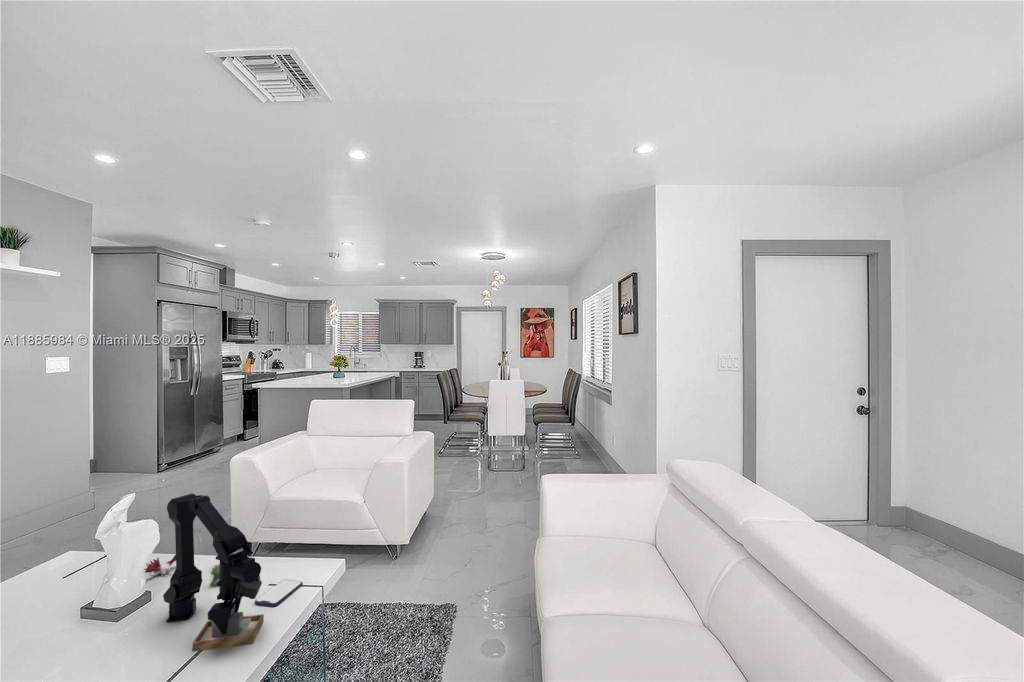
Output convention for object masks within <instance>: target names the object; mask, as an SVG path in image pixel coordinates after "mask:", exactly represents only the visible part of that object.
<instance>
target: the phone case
mask: <svg viewBox="0 0 1024 682" xmlns="http://www.w3.org/2000/svg"><path fill="white" fill-rule="evenodd" d="M301 587H303V581H301V580H291V579H282V580H280V581H279V582H278V583H277V584H275V585H274V586H273V587H271V588H270V589H268V590H267V591H266V592H264V593H263V594H261V595H260V596H259V597H257V598H255V600H254V605H255V606H257V607H258V606H260V607H268V608H276V607H278V606H279V605H281V604H282V603H283V602H284V601H285V600H287V599H288V598H289V597H290V596H292V595H293V594H294V593H296V591H297V590H299V589H300V588H301Z"/></svg>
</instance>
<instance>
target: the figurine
mask: <svg viewBox="0 0 1024 682" xmlns="http://www.w3.org/2000/svg"><path fill="white" fill-rule="evenodd" d="M152 560H153V561H152ZM152 560H149V563H146V564H145V565H146V566H147V568H144V571H145V572H144V574H145V573H150V576H152V577H153V576H154V577H155V576H157V575H159V574H161V575H163V574H164V575H166V573H167V572H169V573H170V574H172V569H173V568H174V565H173V563H175V562H176V554H175V555H174V556H173V558H172V559H171V560H170V561H167V562H166V563H162V564H161V562H160V557H157V558H156V559H155V558H154V559H152ZM170 566H171V567H170ZM162 578H163V576H162Z"/></svg>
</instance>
